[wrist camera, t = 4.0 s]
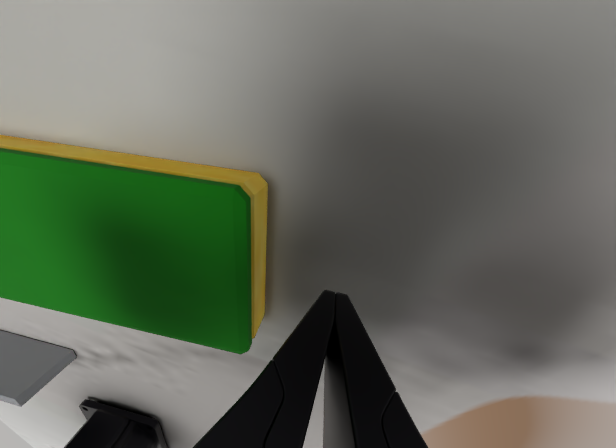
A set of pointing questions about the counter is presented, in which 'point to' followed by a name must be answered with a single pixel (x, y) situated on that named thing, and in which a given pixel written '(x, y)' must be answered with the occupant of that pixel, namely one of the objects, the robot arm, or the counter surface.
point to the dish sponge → (134, 241)
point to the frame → (28, 366)
